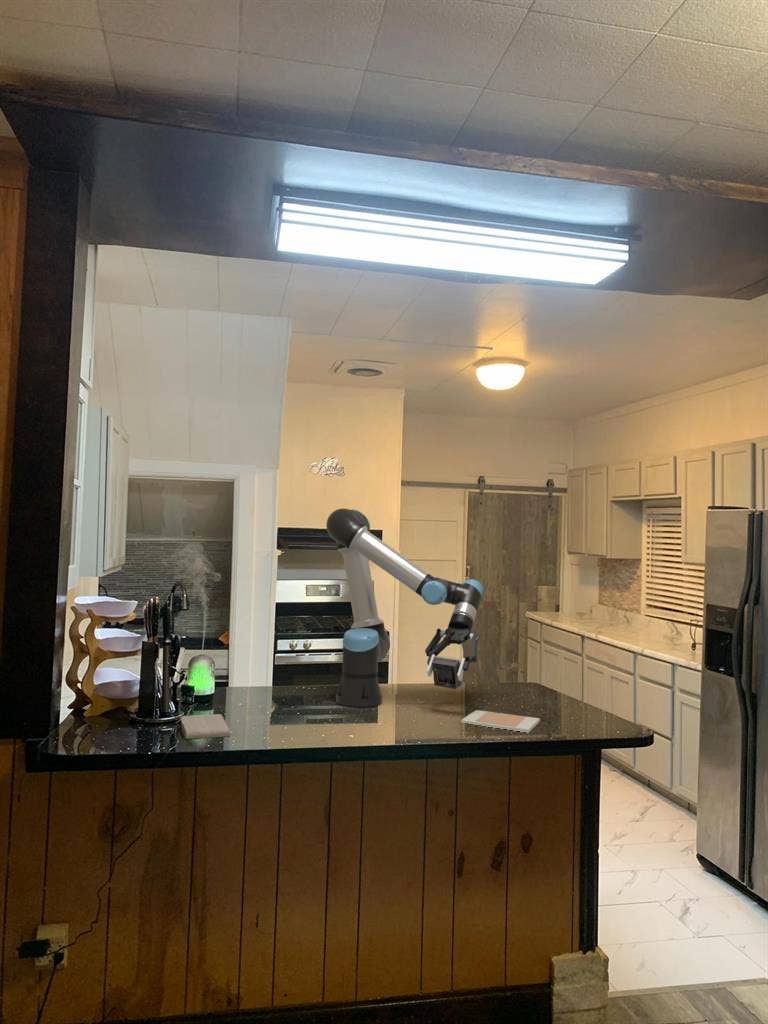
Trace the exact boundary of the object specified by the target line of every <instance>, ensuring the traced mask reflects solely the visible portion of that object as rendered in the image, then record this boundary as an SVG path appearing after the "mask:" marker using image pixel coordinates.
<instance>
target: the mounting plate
mask: <svg viewBox="0 0 768 1024" xmlns="http://www.w3.org/2000/svg"><path fill="white" fill-rule="evenodd" d="M460 721H461V722H460V724H461V723H468V724H474V725H481V726H486V727H485V728H488V727H493V728H492V729H495V728H500V729H499V730H502V729H507V730H506V731H509V730H513V731H512V732H516V731H520V732H519V733H523V732H526V733H525V734H529V733H530V732H531V731H532V730H533V729H534V728H536V726H537V725H538V724H539V723H540V722H541V719H540V717H539V718H538V717H532V716H525V715H517V714H509V713H508V714H507V713H502V712H501V713H500V712H493V711H486V710H478V709H475V710H474V711H472V712H471V713H469V714H468V715H466V716H465V717H464V718H462V719H461V720H460ZM474 725H473V726H474ZM481 726H480V727H481Z"/></svg>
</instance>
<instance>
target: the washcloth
mask: <svg viewBox="0 0 768 1024" xmlns="http://www.w3.org/2000/svg"><path fill="white" fill-rule="evenodd" d="M180 723H181V725H180V726H181V731H182V734H183V736H184V739H185V740H196V738H200V739H206V738H207V739H209V738H211V739H214V738H226V737H227V738H228V737H230V736H231V732H230V728H229V726H228V725H227V722H226V720H225V719H224V716H223V715H222V714H221V713H220V714H219V713H216V714H208V715H200V714H199V715H198V714H191V715H183V716H181V717H180Z"/></svg>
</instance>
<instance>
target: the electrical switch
mask: <svg viewBox="0 0 768 1024" xmlns="http://www.w3.org/2000/svg"><path fill="white" fill-rule="evenodd" d="M461 661H462V659H459V658H453V657H447V656H441V655H440V656H439V655H437V656H436V657H434V662H433V663H432V666H433V671H432V674H433V685H434V686H435V687H442V688H447V689H453V690H457V689H458V688H461V689H462V688H463V687H464V686H465V684H464V675H463V676H462V679H461V681H459V680H458V677H457V674H458V671H459V668H460V664H461Z"/></svg>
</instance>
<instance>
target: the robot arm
mask: <svg viewBox="0 0 768 1024" xmlns="http://www.w3.org/2000/svg"><path fill="white" fill-rule="evenodd" d="M325 527H326V531H327V533H328V535H329V536H330V538H331V539H332V540H334V541H335V543H336V548H337V551H338V552H339V553H341V554H342V558H343V562H344V563H343V564H344V570H345V575H346V581H347V588H348V592H349V599H350V603H351V604H350V605H351V610H352V616H353V624H351V626H350V629H348V630H347V631H345V632H344V634H343V640H342V667H341V668H342V669H341V670H342V671H341V673H342V675H341V680H340V684H339V685H338V688H337V692H336V694H335V702H336V704H339V705H342V706H346V707H351V708H352V707H354V708H368V707H376V706H379V705H381V704H383V695H382V694H383V693H382V691H381V686H380V684H379V680H378V673H379V672H378V670H379V665H378V664H379V662H382V661H383V660H384V659H385V657H386V656H387V655H388V653H389V651H390V649H391V640H390V636H389V634H388V633H387V631H386V628H385V623H384V620H383V619H381V618H379V614H378V607H377V602H376V596H375V590H374V584H373V579H372V578H373V577H372V573H371V567H370V562H372V563H373V564H375V566H377V567H379V568H380V569H382V570H383V571H384V572H386V573H387V574H389V575H391V576H392V577H393V578H394V579H396V580H397V581H399V582H400V583H402V584H403V585H404V586H406V587H407V588H409V589H410V590H412V591H413V592H414V593H415V594H417V595H419V596H420V597H421V598H422V600H423V601H424V602H426V604H428V605H431V606H436V605H440V604H442V603H446V604H450V605H452V606H454V608H453V611H452V614H451V617H450V619H449V622H448V625H447V628H446V629H445V630H444V629H443V630H441V628H437V629H436V632H435V635H434V637H432V639H431V641H430V642H429V643H428V645H427V647H426V648H425V650H424V652H425V654H426V657H428V658H427V661H426V662H427V668H426V673H427V676H428V677H432V674H433V666H432V663H433V662H434V657H436V656H439V654H440V653H442V651H444V650H445V649H446V648H447V647H449V646H450V645H460V646H461V647H462V650H463V651H462V652H463V655H464V657H462V659H461V664H460V668H459V671H458V674H457V677H458V680H459V681H461V679H462V676H463V677H464V672H467V671H468V669H469V666H470V663H476V662H477V656H478V655H477V653H478V651H477V650H478V649H477V646H478V645H477V644H478V641H479V638H480V637H479V635H478V632H473V633H472V629H473V626H474V622H475V620H476V617H477V613H478V610H479V608H480V604H481V602H482V597H483V594H484V586H483V584H482V583H481V582H480V581H478V580H476V579H465V580H464V581H463V582H462V583H459V582H454V581H452V580H447V579H444V578H440V577H437V576H433V575H431V574H430V573H429V572H427V571H426V570H425V569H423V568H421V567H420V566H419V565H417V564H416V563H414V562H412V561H411V560H410V559H409V558H407V557H405V556H404V555H403V554H402V553H400V552H399V551H397V550H396V549H394V548H393V547H391V546H390V545H388V544H387V543H385V542H384V541H382V539H380V538H378V537H377V536H376V535H375V534H372V533H371V532H370V531H371V523H370V521H369V519H368V517H367V516H366V515H365V514H364V513H362V512H361V511H359V510H357V509H349V508H338V509H336V510H334V511H332V512H331V514H329V516H328V518H327V519H326V526H325ZM442 638H443V639H442ZM469 639H470V640H471V648H470V649H471V651H470V652H471V653H470V654H471V655H469V651H468V647H467V645H466V641H467V640H469Z"/></svg>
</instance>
